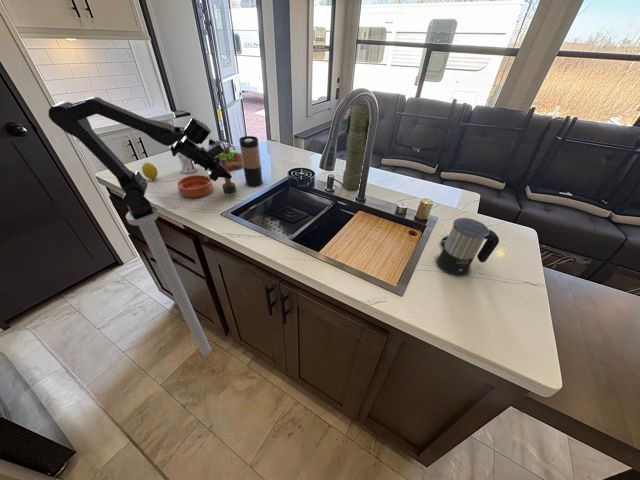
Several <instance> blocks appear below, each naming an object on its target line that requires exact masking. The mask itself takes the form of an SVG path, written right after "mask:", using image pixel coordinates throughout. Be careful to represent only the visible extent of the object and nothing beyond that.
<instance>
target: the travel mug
mask: <svg viewBox="0 0 640 480" xmlns="http://www.w3.org/2000/svg"><path fill="white" fill-rule="evenodd" d="M238 141H239V147H240V153H241V155H242V162H243V168H242V169H243V174H244V179H245V183H246V186H248V187H250V188H255V187H261V186H262V185H263V176H262V175H263V174H262V163H261V153H260V145H259V138H258V137H256V136H253V135H246V136H245V135H244V136H242V137H240V138H239V140H238Z"/></svg>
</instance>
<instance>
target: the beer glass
mask: <svg viewBox="0 0 640 480" xmlns="http://www.w3.org/2000/svg"><path fill="white" fill-rule="evenodd" d="M176 143H177V141H176V142H175V143H174V144H173V145H172V146H174V145H175V144H176ZM175 156H176V157H177V159H178V161H179V164H180V166H181V171H182V173H184V174H192V173H195V172H196V171H197V170H196V167H195V164H194V163H193V161H192V160H190V159H188V158H187V157H185V156H183V155H182V154H180V153H179V152H178V153H177V154H176V155H175Z"/></svg>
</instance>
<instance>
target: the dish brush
mask: <svg viewBox="0 0 640 480" xmlns="http://www.w3.org/2000/svg"><path fill="white" fill-rule="evenodd" d="M221 163H222V164H223V166H224V168H225V170H226V171H227V172H228V173H230V170H229V169H228V164H227V159H226V158H221ZM231 179H232V178H231ZM231 179H230V178H224V183H223V184H222V185H221V186H222V190H223V191H222V192H223V193H224V194H225V195H233V194H235V193H236V192H237V188H236V187H237V186H236V184H235V183H234V182H232V180H231Z"/></svg>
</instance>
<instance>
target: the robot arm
mask: <svg viewBox="0 0 640 480" xmlns="http://www.w3.org/2000/svg"><path fill="white" fill-rule="evenodd" d="M47 111H48V118H49V120H50V121H51V122H52V123H53V124H55V125H56V126H57V127H58V128H60V129H61V130H62V131H64V132H65V133H67V134H69V135H71V136H72V137H74V138H76V139H78V140H79V141H80V142H81V143H82V144H83V145H84V147H86V149H88V150H89V152H91V153H92V154H93V156H95V158H97V160H98V161H99V162H100V163H101V164H102V165H103V166H104V167H105V168H106V169H107V170H108V171H109V172H110V173H111V174H112V175H113V176H114V177H115V178H116V180H117V181H118V184H119V186H120V189H122V191H123V192H124V194H123V197H122V198H121V200H120V202H121V203H122V205H124V206H125V207H127V209H128V212H129V211H130V212H129V214H130V215H131V216H132V217H134V218H135V219H139V218H142V217H145V216H148V215H150V214H153V213H154V212H153V211H152V207H153V206H152V205H151V202H150V200H149V199H147V197H146V196H145V195H146V192H147V189H148V182H147V179H146V178H145V176H143V175H142V174H141V172H140V171H138V170H136V171H135V172H134V171H132V170H130V169H129V168H128V166H126V165H125V164H124V162H122V160H121V159H120V158H119V157H118V156H117V155H116V154H115V153H114V152H113V151H112V149H111V148H109V146H108V145H106V143H105V142H104V141H103V140H102V139H101V138H100V137H99V135H98V134H96V133H95V131H94V130H93V128H92V126H91V124H90V121H89V119H88V118H90V117H92V116H94V115H99V116H101V117H104V118H106V119H108V120H111V121H114V122H115V123H116V122H117V123H119V124H121V125H124V126H126V127H129V128H132V129H134V130H136V131H139V132H141V133H143V134H145V135H146V136H148V137H149V138H151V139H152V140H154V141H155V142H157V143H159V144H161V145H163V146H166V147H169V150H170V152H171V154H172V157H176V156H177V155H176V154H177V153H178V152H179V153H180V154H182V155H183V156H185V157H187V158H188V159H190V160H192V161H193V165H198V166H200V167H201V168H202V169H203V170H204V171H205V172H207V176H208V177H209V178H210V179H211V181H213V182H217V181H218V179H219V178H223V179H225V178H230V179H232V177H233V175H232V174H231V173H230V172H229V173H228V172H227V171H226V170H225V168H224V166H223V164H222V163H220V160H219V158H218V157H216V156H217V155H219V154H220V153H223V152H224V151H225V150H224V146H223V144H222V143H219V141H220V140H217V139H215V140H214V139H212V138H210V139H208V140H207V138H208V136H209V135H210V134H211V133H212V130H211V129H210V128H209V126H207V124H205V123H204V122H202V121H200V120H199V119H196V118H195V117H191V118H190V120H189V122H188V123H187V125H186V126H185V127H183V126H174V125H173V124H171V123H168V122H165V121H160V120H155V119H150V118H146V117H144V116H142V115H139V114H136V113H134V112H133V111H130V110H127V109H125V108H122V107H120V106H118V105H115V104H113V103H111V102H109V101H106V100H104V99H102V98H101V97H99V96H91V97H90V98H89V97H88V98H87V99H82V100H79V101H76V102H70V101H61V102H59V103H57V104H55V105H52V106H51V107H50V108H49V109H48V110H47ZM205 140H207V146H206V147H203V146H199V145H202V144H203V143H204V142H205ZM176 141H177V143H176V144H175V145H174V146H173V144H174V143H175V142H176ZM215 157H216V158H215ZM151 206H152V207H151Z"/></svg>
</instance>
